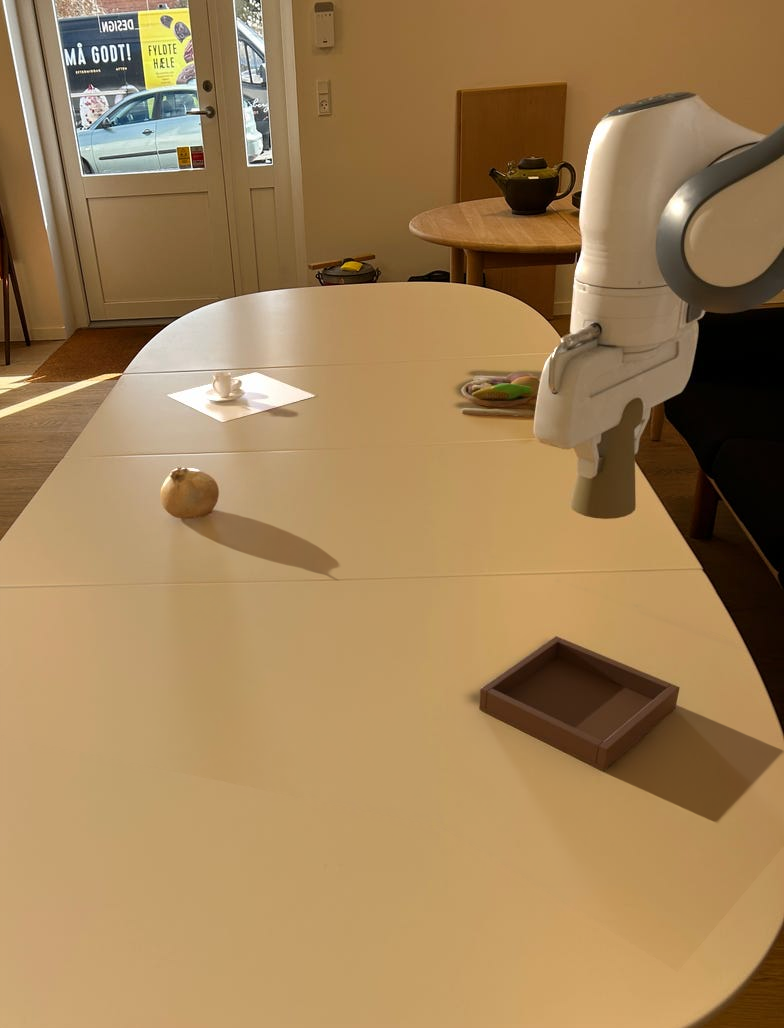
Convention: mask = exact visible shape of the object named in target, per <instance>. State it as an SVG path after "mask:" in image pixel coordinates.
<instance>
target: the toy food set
mask: <svg viewBox="0 0 784 1028" xmlns="http://www.w3.org/2000/svg"><path fill="white" fill-rule="evenodd" d="M539 385H540V377H539V376H532V375H530V374H528V373H524V372H521V371H519V372H518V371H517V372H513V373H510V374H508V375H507V376H496V375H475V376H473V380H472V381H470V382H468V383H466V384H465V385H463V386H462V388H461V394H463V396H464V397H465V398H466V399H467V400H468V401H469V402H471V403H473V404H476V405H480V406H483V405H484V407H491V406H496V407H495V408H492V409H491V408H490V409H489V408H473V407H471V408H470V407H463V408H461V409H460V412H461V415H475V416H477V415H479V416H497V415H515V416H514V417H518V416H532V417H533V416H534V415H535V411H534V410H532V409H518V408H517V409H516V408H501V407H500V406H508V407H512V406H511V405H515V406H518V405H517V404H520V405H522V404H521V403H523V404H525V403H527V402H529V401H530V400H531V399H532V398H534V397H535V396H536V395H538V390H539ZM528 400H529V401H528ZM526 401H527V402H526ZM524 402H525V403H524ZM516 415H517V416H516Z"/></svg>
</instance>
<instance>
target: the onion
mask: <svg viewBox="0 0 784 1028" xmlns="http://www.w3.org/2000/svg"><path fill="white" fill-rule="evenodd" d="M219 495H220V490H219V485H218V483H217V482H216V480H215V478H214V477H212V475H210V474H209V473H207V472H205V471H203V470H201V469H197V468H191V467H190V468H185V467H180V466H177V467H176V468H174V469H173V470H170V473H169V475H168V476H167V477H166V478H165V480H164V482H163V484H162V485H161V488H160V492H159V497H160V501H161V505H162V507H163V509H164V510H165V511H166V512H167V513H168V514H169V515H170V516H172V517H174V518H175V519H176V518H177V519H183V520H191V519H195V518H199V517H200V518H204V517H205V516H208V515H211V514H212V513H213V512H214V509H215V507H216V505H217V504H218V500H219Z"/></svg>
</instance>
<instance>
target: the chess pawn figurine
mask: <svg viewBox="0 0 784 1028" xmlns="http://www.w3.org/2000/svg"><path fill="white" fill-rule="evenodd" d="M642 416H643V402H642V400H641V399H640V398H635V399H633V400H631V401H630V402H629V403H628V404H627V405H626V406H625V408H624V411H623V414H622V418H621V420H620V423H619V424H618V425H617V426H615V427H613V428H611V429H609V430H607V431H605V432H603V433H601V441H600V443H598V444H597V449H598V454H599V455H600V456H604V462H603V465H602V467H603V471H602V472H601V473H600V474H598V475H597V476H595V477H593V478H590V479H589V478H586V477H582V476H580V475H579V474H578V473H577V472H576V477H575V480H574V485H573V489H572V494H571V498H570V502H569V506H570V508H571V510H573V511H574V512H575V513H577V514H579V515H582V516H584V517H588V518H593V519H601V520H611V519H613V520H614V519H619V518H624V517H627V516H629V515H631V514H633V513H634V511H636V506H637V505H636V503H637V502H636V500H637V499H636V454H635V433H634V430H635V428H636V427H637V426H638V425H639V424H640V422H641V419H642Z"/></svg>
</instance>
